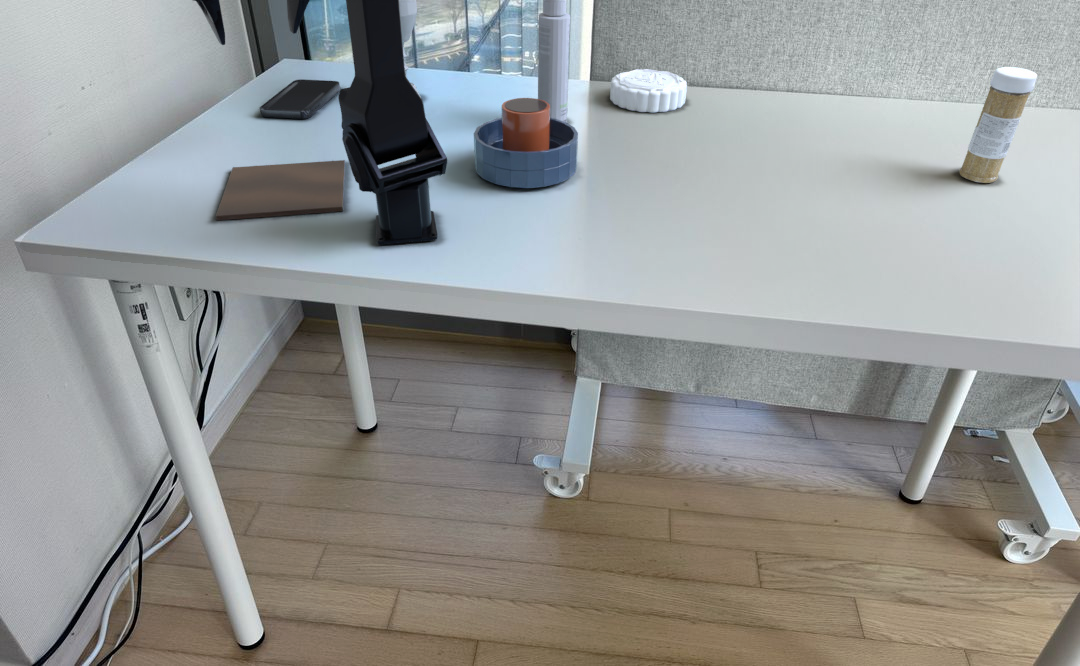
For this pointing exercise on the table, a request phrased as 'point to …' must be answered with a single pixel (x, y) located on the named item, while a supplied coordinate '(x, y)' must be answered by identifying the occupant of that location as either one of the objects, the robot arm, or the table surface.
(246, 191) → the coaster board
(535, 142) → the cup
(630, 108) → the mooncake
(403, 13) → the chalice
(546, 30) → the bottle
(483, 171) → the bowl
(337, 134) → the table surface
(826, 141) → the table surface
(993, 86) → the sprinkles bottle
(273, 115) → the phone
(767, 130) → the table surface
